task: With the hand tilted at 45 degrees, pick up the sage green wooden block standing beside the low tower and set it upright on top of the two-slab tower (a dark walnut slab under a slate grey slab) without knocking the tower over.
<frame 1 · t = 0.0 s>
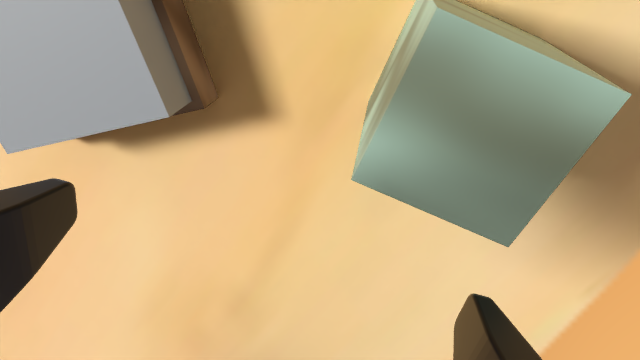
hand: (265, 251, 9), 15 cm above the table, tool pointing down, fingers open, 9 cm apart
slate grey top slab: (66, 26, 21), point 2 cm above the table, touching walnut base slab
walnut base slab: (98, 20, 23), on the table, touching slate grey top slab
sage green block: (448, 71, 21), on the table
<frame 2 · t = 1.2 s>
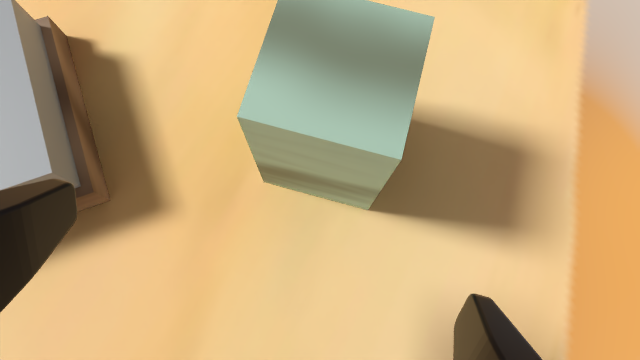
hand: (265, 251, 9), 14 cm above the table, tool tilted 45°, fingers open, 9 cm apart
sage green block: (329, 146, 24), on the table
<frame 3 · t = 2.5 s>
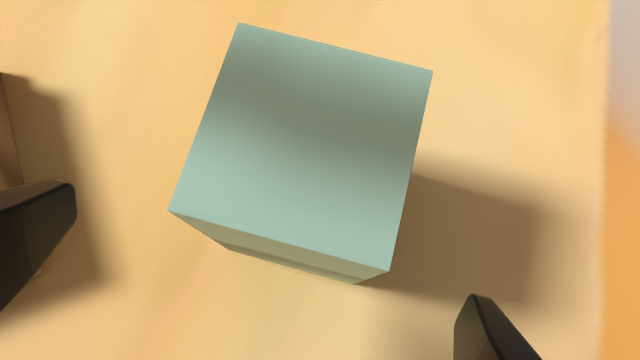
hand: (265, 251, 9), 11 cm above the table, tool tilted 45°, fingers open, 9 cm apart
sage green block: (308, 206, 20), on the table
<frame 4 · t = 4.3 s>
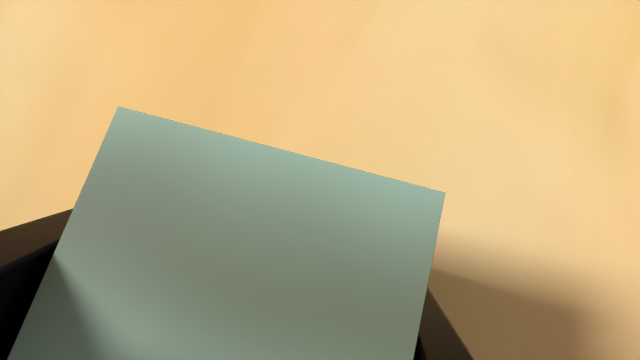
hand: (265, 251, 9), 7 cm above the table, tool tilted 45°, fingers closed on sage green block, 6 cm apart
sage green block: (272, 308, 15), on the table, touching gripper
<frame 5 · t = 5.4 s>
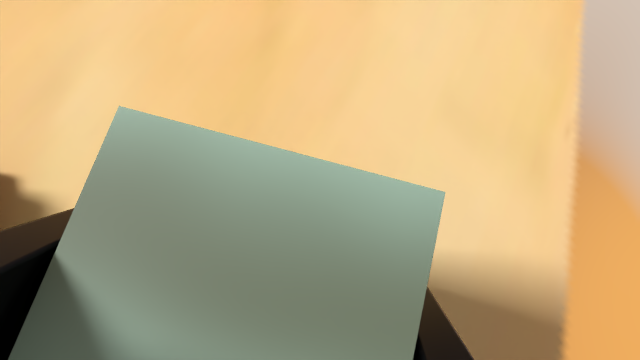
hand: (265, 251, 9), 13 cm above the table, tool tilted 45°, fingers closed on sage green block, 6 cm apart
sage green block: (272, 308, 15), point 6 cm above the table, touching gripper
when the fingers open (12 cm above the table, at t = 8.3 s): sage green block drops 1 cm, point 4 cm above the table.
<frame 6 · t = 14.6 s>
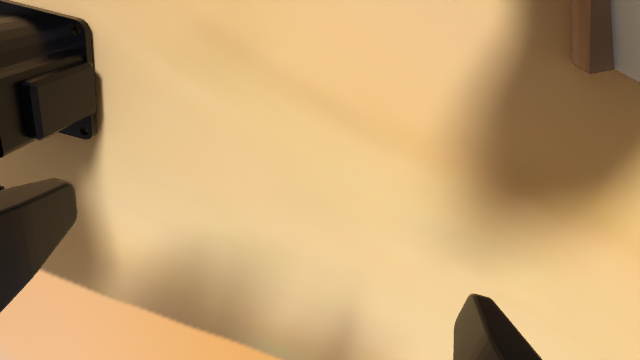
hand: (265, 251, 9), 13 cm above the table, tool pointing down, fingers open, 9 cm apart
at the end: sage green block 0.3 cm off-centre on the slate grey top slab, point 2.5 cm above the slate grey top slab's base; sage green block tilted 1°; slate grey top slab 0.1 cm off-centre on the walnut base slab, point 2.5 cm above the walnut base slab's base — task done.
